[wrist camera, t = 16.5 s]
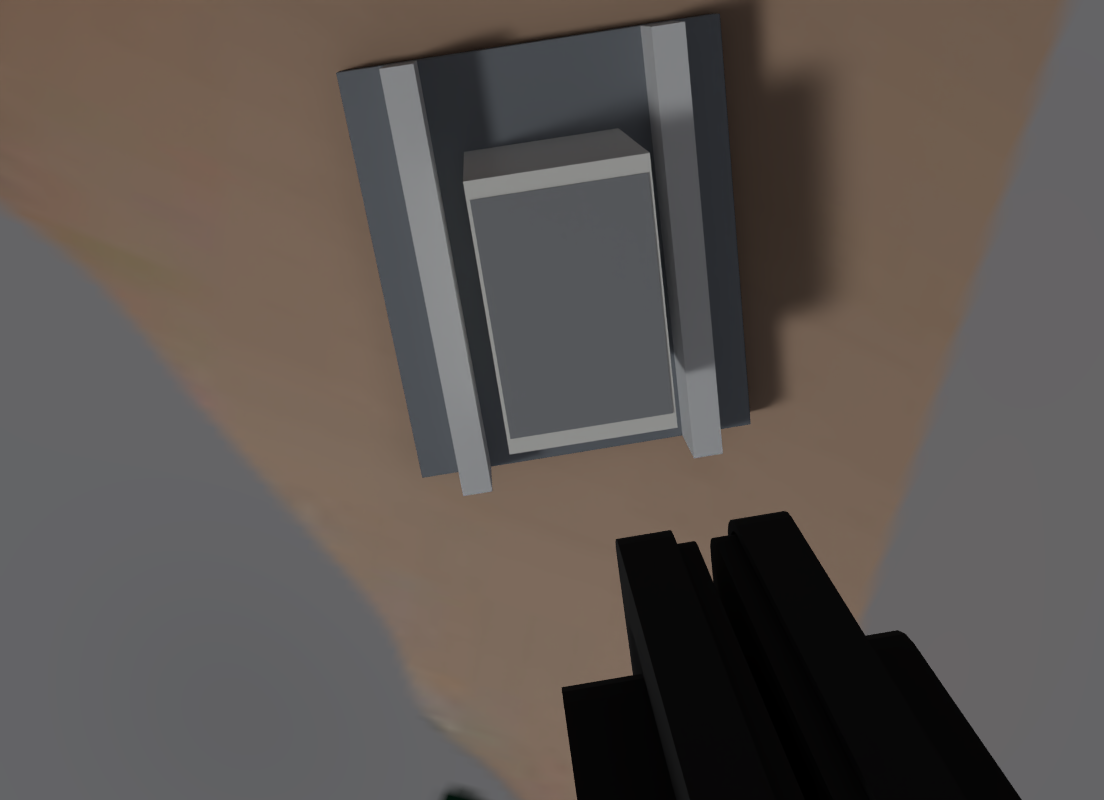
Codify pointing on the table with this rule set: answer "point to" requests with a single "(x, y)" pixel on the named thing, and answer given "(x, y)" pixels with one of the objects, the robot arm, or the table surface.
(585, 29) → the table surface
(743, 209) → the table surface
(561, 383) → the block
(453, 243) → the grey rail base plate
